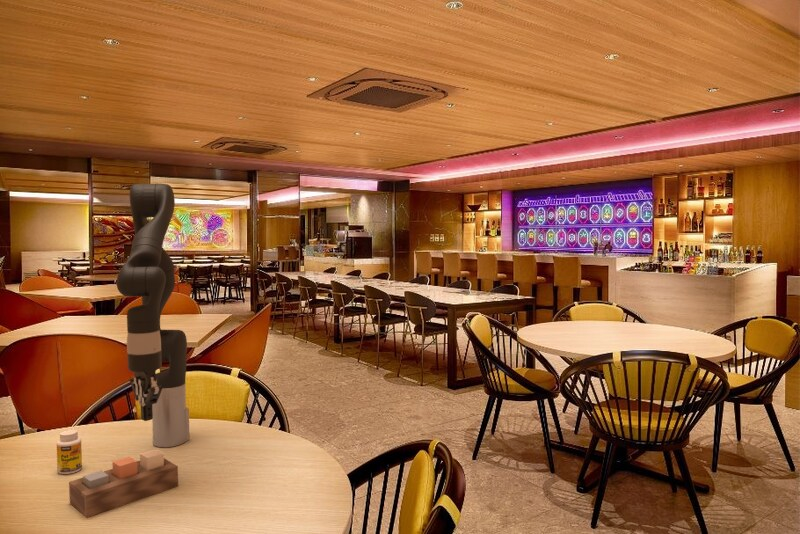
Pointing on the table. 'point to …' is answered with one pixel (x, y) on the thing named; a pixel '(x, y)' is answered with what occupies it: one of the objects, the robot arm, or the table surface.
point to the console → (122, 489)
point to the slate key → (95, 479)
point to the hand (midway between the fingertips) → (146, 419)
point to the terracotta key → (124, 467)
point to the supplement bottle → (69, 452)
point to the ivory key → (151, 459)
